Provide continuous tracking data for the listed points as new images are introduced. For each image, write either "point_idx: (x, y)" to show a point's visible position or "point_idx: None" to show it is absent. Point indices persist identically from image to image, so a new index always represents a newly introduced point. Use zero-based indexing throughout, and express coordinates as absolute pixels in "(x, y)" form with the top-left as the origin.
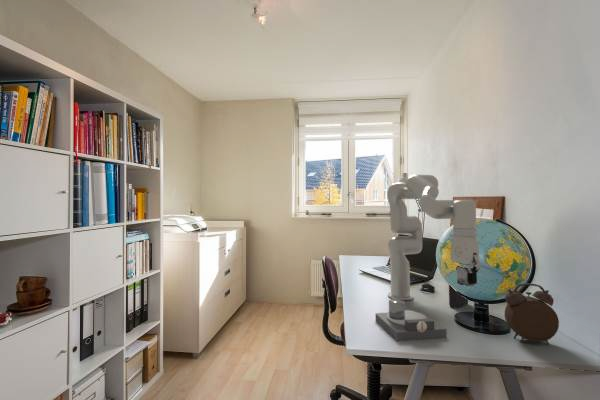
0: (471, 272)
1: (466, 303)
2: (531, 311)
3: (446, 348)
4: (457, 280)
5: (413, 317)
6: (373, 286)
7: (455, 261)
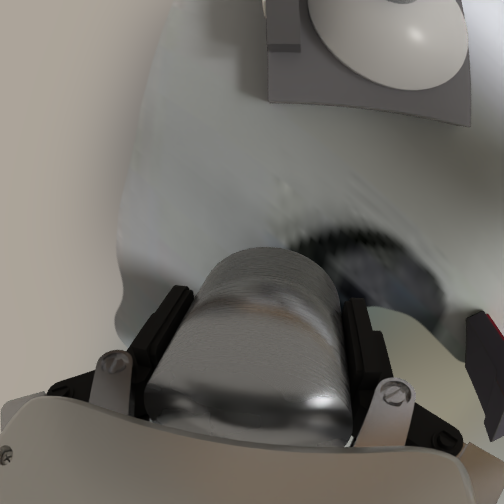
0: (105, 358)
1: (466, 363)
2: None
3: (193, 57)
4: (284, 262)
5: (381, 29)
6: None
7: (315, 456)
